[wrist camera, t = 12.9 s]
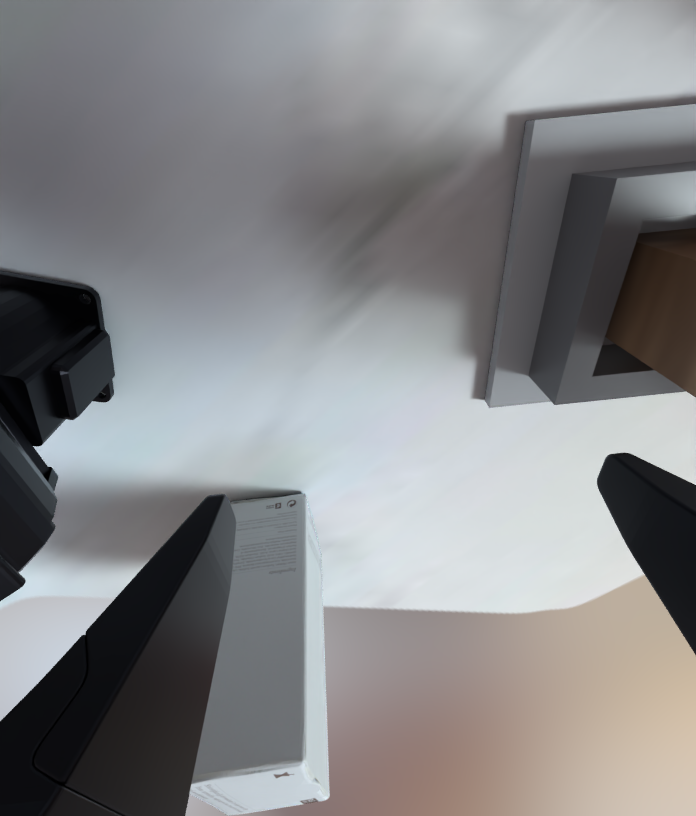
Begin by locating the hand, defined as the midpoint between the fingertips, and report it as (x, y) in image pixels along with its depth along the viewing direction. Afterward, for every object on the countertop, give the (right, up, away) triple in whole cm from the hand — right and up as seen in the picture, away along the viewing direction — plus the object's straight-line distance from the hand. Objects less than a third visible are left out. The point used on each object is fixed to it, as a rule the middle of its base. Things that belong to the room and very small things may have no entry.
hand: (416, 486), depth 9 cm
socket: (+13, +9, +11) cm, 19 cm away
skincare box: (-7, -8, +21) cm, 23 cm away
